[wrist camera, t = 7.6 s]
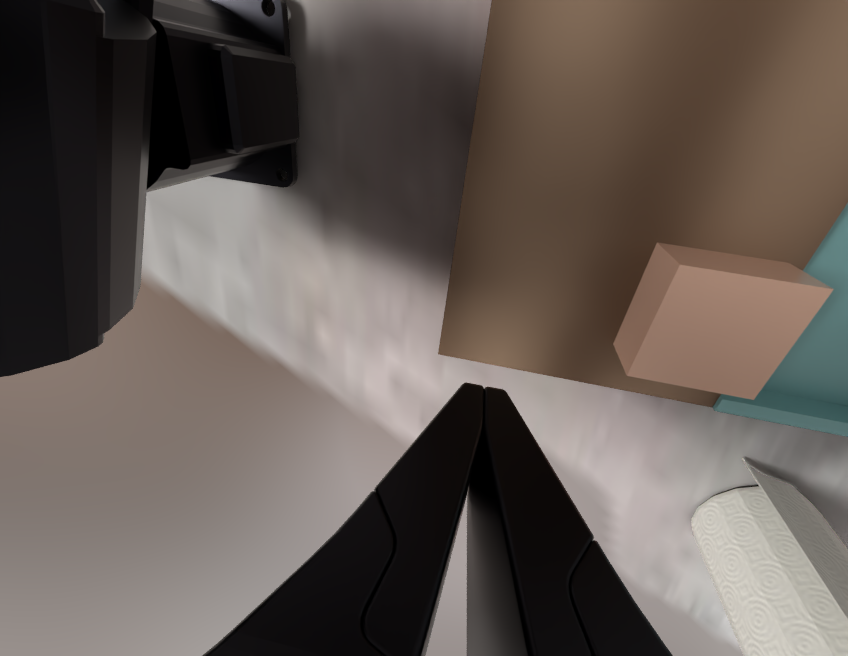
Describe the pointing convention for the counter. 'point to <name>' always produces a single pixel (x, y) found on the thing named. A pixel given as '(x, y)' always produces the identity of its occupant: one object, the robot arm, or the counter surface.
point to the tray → (811, 355)
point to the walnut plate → (637, 165)
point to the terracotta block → (715, 319)
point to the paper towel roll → (776, 569)
